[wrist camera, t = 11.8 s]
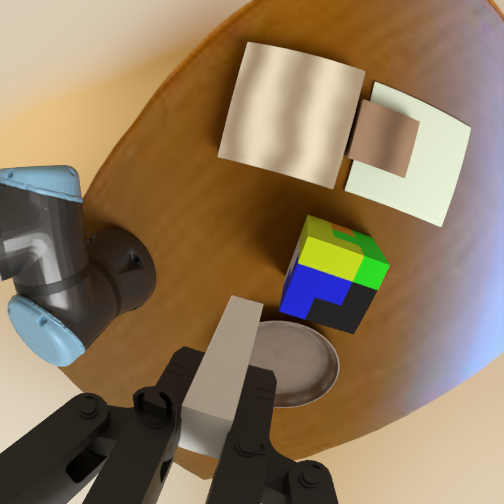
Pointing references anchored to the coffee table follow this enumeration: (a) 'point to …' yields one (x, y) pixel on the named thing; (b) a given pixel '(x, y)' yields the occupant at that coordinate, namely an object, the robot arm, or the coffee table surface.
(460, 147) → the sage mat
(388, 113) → the walnut tile
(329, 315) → the puzzle toy
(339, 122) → the plate
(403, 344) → the coffee table surface
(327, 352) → the plant saucer
